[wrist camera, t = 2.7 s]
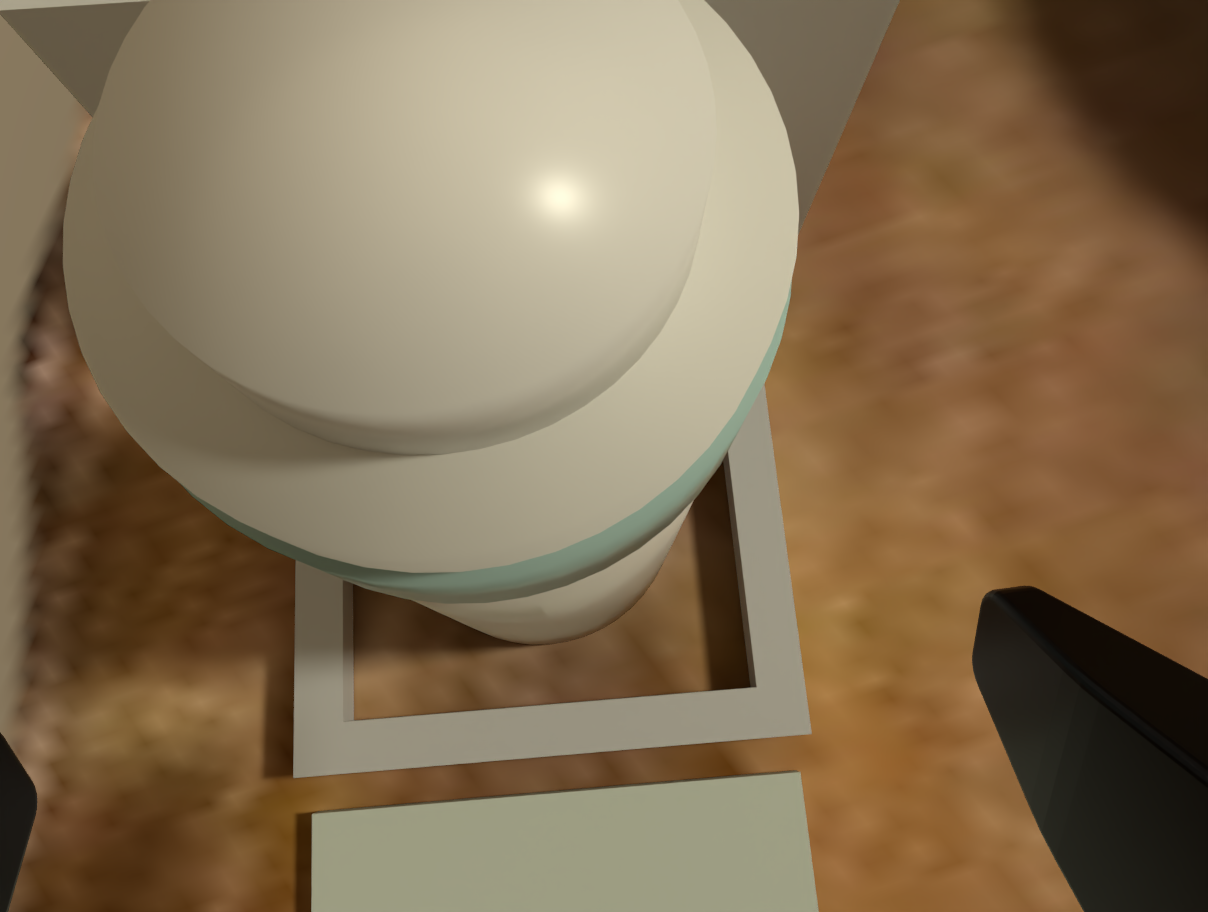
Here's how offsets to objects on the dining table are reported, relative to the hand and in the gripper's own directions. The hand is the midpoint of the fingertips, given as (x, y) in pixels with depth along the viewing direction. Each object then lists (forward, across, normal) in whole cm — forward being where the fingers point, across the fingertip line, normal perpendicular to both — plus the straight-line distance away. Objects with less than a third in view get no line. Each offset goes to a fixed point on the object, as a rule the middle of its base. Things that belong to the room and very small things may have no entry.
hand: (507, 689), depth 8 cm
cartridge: (+11, 0, +5) cm, 12 cm away
